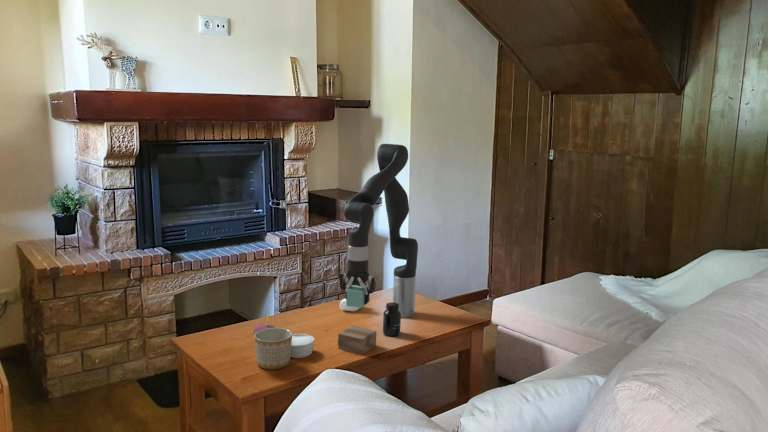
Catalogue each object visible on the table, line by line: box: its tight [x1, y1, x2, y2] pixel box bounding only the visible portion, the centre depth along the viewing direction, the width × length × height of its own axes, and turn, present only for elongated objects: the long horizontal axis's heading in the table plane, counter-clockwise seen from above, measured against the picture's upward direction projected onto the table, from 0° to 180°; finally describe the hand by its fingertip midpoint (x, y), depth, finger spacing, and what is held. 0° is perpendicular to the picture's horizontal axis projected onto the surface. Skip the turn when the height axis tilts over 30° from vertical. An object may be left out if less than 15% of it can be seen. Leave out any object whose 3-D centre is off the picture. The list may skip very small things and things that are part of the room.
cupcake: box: [252, 312, 276, 336], centre depth 222 cm, size 9×8×12 cm
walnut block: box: [337, 324, 377, 356], centre depth 221 cm, size 10×10×6 cm
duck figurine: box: [339, 298, 360, 312], centre depth 260 cm, size 12×8×11 cm
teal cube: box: [347, 285, 367, 309], centre depth 218 cm, size 6×6×6 cm
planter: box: [253, 327, 293, 370], centre depth 205 cm, size 13×13×10 cm
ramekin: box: [290, 333, 316, 359], centre depth 214 cm, size 11×11×5 cm
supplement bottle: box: [382, 301, 402, 337], centre depth 234 cm, size 7×7×12 cm
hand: (357, 302), depth 219 cm, fingers closed on teal cube, 6 cm apart
